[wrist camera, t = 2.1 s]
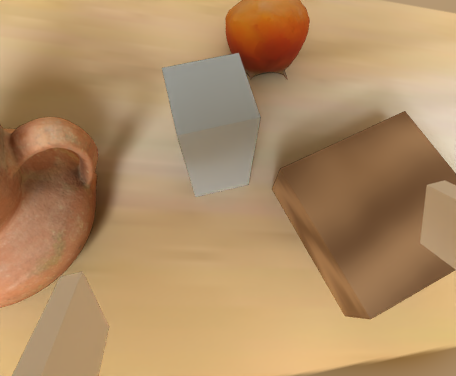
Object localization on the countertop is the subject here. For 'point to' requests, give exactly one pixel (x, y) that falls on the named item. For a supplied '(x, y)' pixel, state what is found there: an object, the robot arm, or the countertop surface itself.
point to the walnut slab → (367, 214)
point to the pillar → (214, 121)
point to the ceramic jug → (43, 203)
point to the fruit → (267, 33)
